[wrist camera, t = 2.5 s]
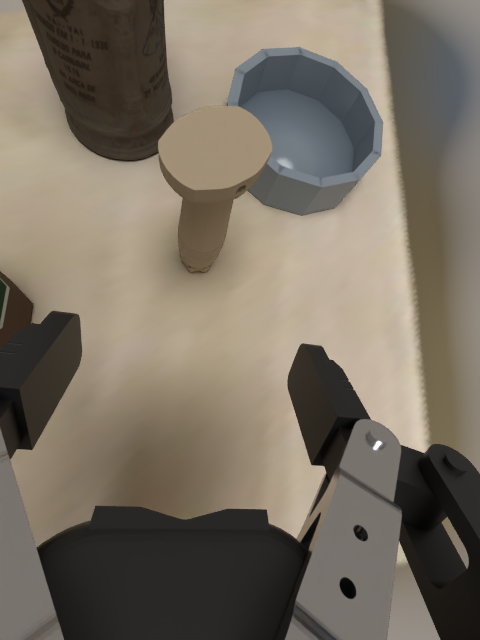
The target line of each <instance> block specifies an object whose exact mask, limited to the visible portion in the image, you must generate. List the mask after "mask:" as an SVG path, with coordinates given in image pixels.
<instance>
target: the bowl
mask: <svg viewBox="0 0 480 640" xmlns="http://www.w3.org/2000/svg"><path fill="white" fill-rule="evenodd" d="M227 106H239V107H241V108H243V109H245V110H247V111H248V112H250V113H251V114H252V115H253V116H255V117H256V118H257V119H258V120H259V121H260V123H261V124H262V125H263V126H264V128H265V129H266V131H267V132H268V134H269V137H270V139H271V143H272V153H271V155H270V158H269V160H268V162H267V164H266V166H265V167H264V169H263V171H262V172H261V174H260V176H259V177H258V179H257V180H256V181H255V183H254V184H253V185H252V186H251V187H250V188H249V189H248V191H249V192H250V193H251V194H252V195H254V196H255V197H256V198H257V199H258V200H259V201H260V202H261V203H263V204H264V205H267V206H271V207H274V208H278V209H281V210H285V211H288V212H291V213H295V214H298V215H306V214H310V213H315V212H319V211H323V210H328V209H332V208H335V207H336V206H337V205H338V204H339V203H340V202H341V200H342V199H343V198H344V197H345V196H346V195H347V194H348V192H349V191H350V190H351V189H352V188H353V187H354V186H355V185H356V184H357V182H358V181H359V180H360V179H361V178H362V177H363V176H364V174H365V173H366V172H367V171H368V170H369V169H370V168H371V167H372V165H373V164H374V163H375V162H376V161H377V160H378V159H379V157H380V156H381V148H382V132H383V121H382V119H381V117H380V115H379V113H378V111H377V109H376V107H375V105H374V102H373V100H372V98H371V96H370V94H369V92H368V90H367V88H365V87H364V86H363V85H362V84H361V83H360V82H359V81H358V80H357V79H355V78H354V77H353V76H352V75H351V74H350V73H349V72H348V71H347V70H345V69H344V68H343V67H342V66H341V65H340V64H339V63H338V62H336V61H334V60H331V59H328V58H326V57H323V56H321V55H318V54H316V53H313V52H310V51H308V50H305V49H303V48H300V47H295V48H275V49H262V50H261V51H259V52H258V53H256V54H255V55H254V56H252V57H251V58H250V59H248V60H247V61H245V62H244V63H243V64H241V65H240V66H239V67H237V68H236V69H235V73H234V77H233V81H232V85H231V89H230V93H229V98H228V102H227Z"/></svg>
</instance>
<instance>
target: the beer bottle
mask: <svg viewBox="0 0 480 640" xmlns="http://www.w3.org/2000/svg"><path fill="white" fill-rule="evenodd" d="M32 305H33V303H32V302H31V301H30V300H29V299H28V298H27V297H26V296H25V295H24V294H23V293H22V292H21V291H20V290H19V289H18V288H17V286H16V285H15V284H14V283H13V282H12V281H11V280H10V279H9V278H7V277H6V276H5V275H4V274H3V273H1V272H0V348H1V347H2V346H3V345H4V344H6V343H7V341H8V340H9V339H10V338H11V337H12V336H13V335H14V334H15V333H16V332H17V331H19V330H20V329H22V328H24V327H26V326H28V325H29V324H30V317H31V311H32Z"/></svg>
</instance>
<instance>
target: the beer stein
mask: <svg viewBox="0 0 480 640" xmlns="http://www.w3.org/2000/svg"><path fill="white" fill-rule="evenodd" d="M22 1H23V4H24V6H25V9H26V12H27V14H28V17H29V20H30V22H31V25H32V28H33V30H34V33H35V35H36V38H37V41H38V43H39V46H40V49H41V51H42V54H43V56H44V60H45V64H46V66H47V68H48V70H49V73H50V75H51V78H52V81H53V83H54V86H55V88H56V90H57V92H58V94H59V97H60V100H61V101H62V103H63V105H64V107H65V113H66V117H67V121H68V124H69V126H70V129H71V130H72V132H73V133H74V135H75V136H76V137H77V139H78V140H79V141H81V142H82V143H83V144H84V145H85V146H86V147H87V148H89V149H90V150H92V151H94V152H95V153H97V154H99V155H102V156H105V157H109V158H113V159H121V160H137V159H143V158H146V157H149V156H151V155H153V154H155V153H157V152H158V141H159V139H160V138H161V137H162V136H163V134H164V133H165V132H166V130H167V129H168V128H169V127H170V126H171V124H172V123H173V113H172V109H171V104H172V94H171V87H170V83H169V78H168V69H167V57H166V40H165V23H164V0H22Z"/></svg>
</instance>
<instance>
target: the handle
mask: <svg viewBox="0 0 480 640" xmlns="http://www.w3.org/2000/svg"><path fill="white" fill-rule="evenodd" d="M158 153H159V162H160V168H161V171H162V173H163V176H164V178H165V179H166V181H167V182H168V184H169V185H170V186H171V187H172V189H173V190H174V191H175V192H176V193H177V194H179V195H180V196H181V197H183V200H182V207H181V214H180V220H179V227H178V243H179V249H180V257H181V261H182V262H183V263H184V264H185V265H186V266H187V268H188V271H190V272H194V271H202V272H206V271H208V270H209V269H210V267H211V264H212V263H213V262H214V261H215V259H216V258H217V256H218V254H219V252H220V250H221V248H222V246H223V243H224V240H225V237H226V232H227V227H228V223H229V218H230V213H231V209H232V204H233V200H234V199H236V198H238V197H239V196H241V195H242V194H244V193H245V192H246V191H247V190H248V189H249V188H250V187H251V186H252V185H253V184H254V183H255V181H256V180H257V179H258V177H259V176H260V174H261V172H262V171H263V169H264V167H265V166H266V164H267V162H268V160H269V158H270V155H271V153H272V143H271V139H270V137H269V134H268V132H267V131H266V129H265V128H264V126H263V125H262V124H261V123H260V121H259V120H258V119H257V118H256V117H255V116H253V115H252V114H251V113H250V112H248V111H247V110H245V109H243V108H241V107H239V106H208V107H204V108H201V109H198V110H196V111H193V112H191V113H188V114H186V115H184V116H182V117H180V118H178V119H177V120H176V121H175V122H173V123H172V124H171V126H170V127H169V128H168V129H167V130H166V132H165V133H164V134H163V136H162V137H161V138H160V139H159V141H158Z"/></svg>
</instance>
